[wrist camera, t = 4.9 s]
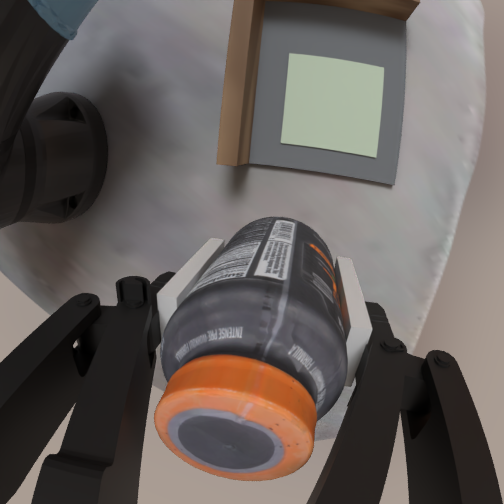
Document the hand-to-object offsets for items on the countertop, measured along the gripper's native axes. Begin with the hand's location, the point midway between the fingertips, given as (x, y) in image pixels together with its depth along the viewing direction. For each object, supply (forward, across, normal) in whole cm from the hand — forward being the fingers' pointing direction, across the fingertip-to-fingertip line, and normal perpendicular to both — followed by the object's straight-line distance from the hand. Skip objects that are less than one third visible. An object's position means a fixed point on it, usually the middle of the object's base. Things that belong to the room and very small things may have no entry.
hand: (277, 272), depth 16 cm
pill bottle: (+1, 0, 0) cm, 1 cm away
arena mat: (+12, +2, +13) cm, 18 cm away
